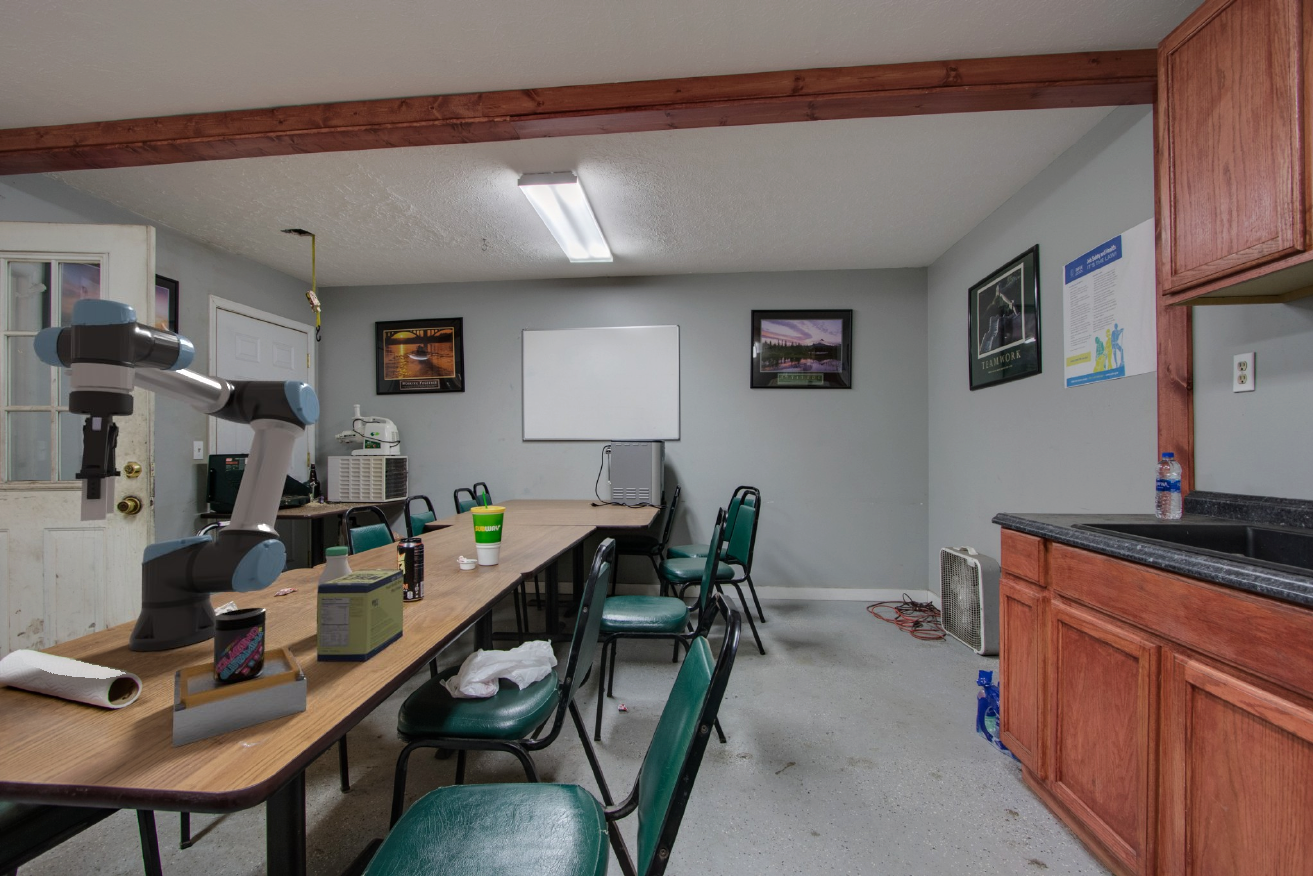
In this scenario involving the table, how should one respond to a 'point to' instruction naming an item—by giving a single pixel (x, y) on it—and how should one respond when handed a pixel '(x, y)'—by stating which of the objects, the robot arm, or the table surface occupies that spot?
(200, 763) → the table surface
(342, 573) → the milk bottle
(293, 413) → the robot arm
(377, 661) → the table surface
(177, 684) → the wood-rimmed grey tray
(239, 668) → the supplement container
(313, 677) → the table surface
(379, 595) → the protein box
